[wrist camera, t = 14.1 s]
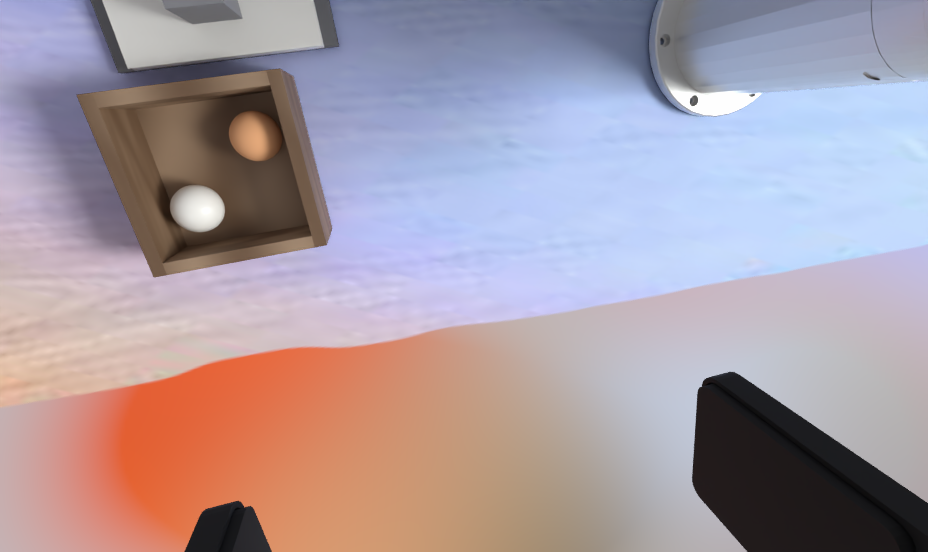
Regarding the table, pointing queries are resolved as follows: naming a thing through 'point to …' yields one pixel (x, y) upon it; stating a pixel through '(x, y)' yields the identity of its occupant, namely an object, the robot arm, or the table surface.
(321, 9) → the mat
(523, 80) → the table surface
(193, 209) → the off-white ball
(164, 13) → the lid
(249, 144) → the orange ball
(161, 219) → the box
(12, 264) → the table surface
